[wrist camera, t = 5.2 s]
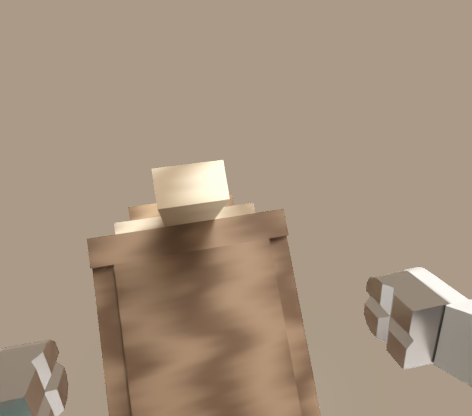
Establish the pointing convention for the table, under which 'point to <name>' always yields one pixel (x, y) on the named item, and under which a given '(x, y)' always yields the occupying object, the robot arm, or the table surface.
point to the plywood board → (185, 198)
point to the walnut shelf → (202, 320)
